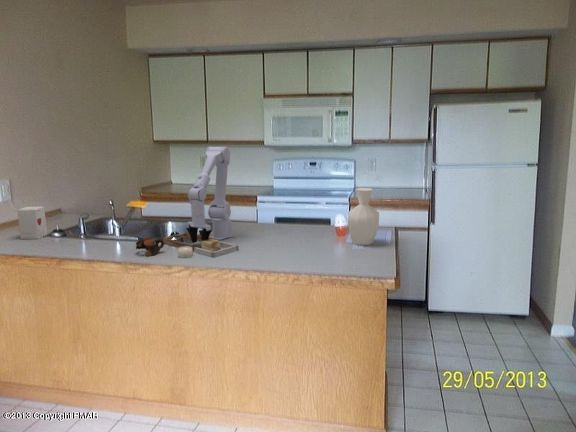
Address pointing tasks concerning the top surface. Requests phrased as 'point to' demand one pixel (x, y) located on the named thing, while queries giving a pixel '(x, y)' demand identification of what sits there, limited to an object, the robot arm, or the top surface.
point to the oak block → (210, 245)
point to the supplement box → (32, 222)
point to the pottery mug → (150, 245)
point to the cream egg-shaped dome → (185, 252)
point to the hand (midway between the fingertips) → (199, 243)
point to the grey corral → (227, 249)
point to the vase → (363, 219)
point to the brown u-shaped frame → (181, 244)
